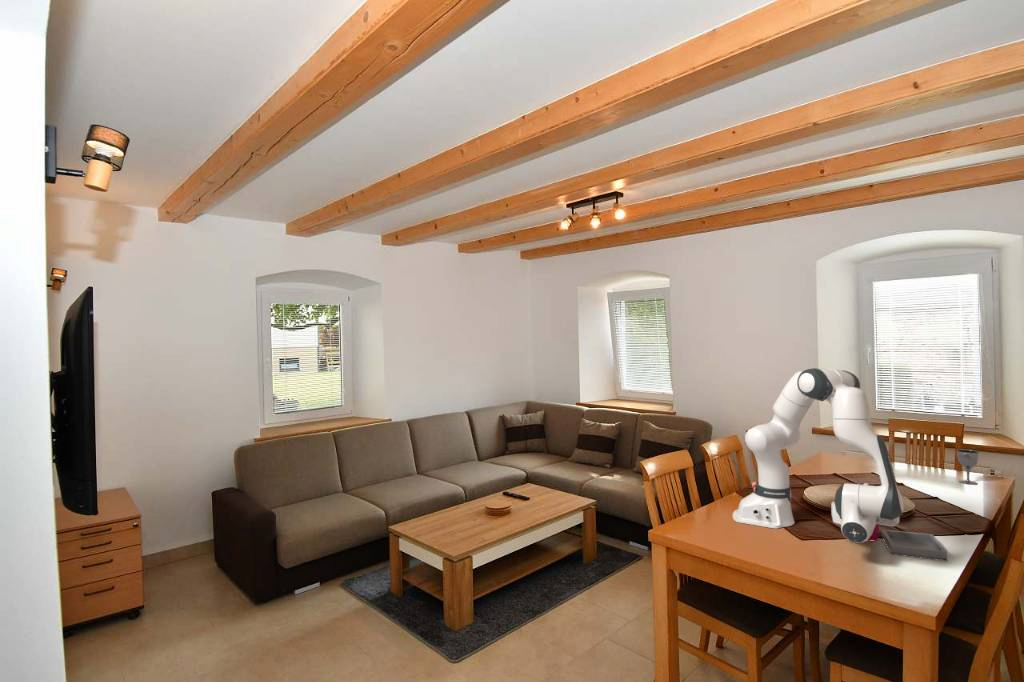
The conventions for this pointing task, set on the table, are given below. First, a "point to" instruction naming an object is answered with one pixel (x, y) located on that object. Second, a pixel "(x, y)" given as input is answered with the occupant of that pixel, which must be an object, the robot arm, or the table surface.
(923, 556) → the tray
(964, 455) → the wine glass
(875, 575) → the table surface
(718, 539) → the table surface
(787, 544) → the table surface
